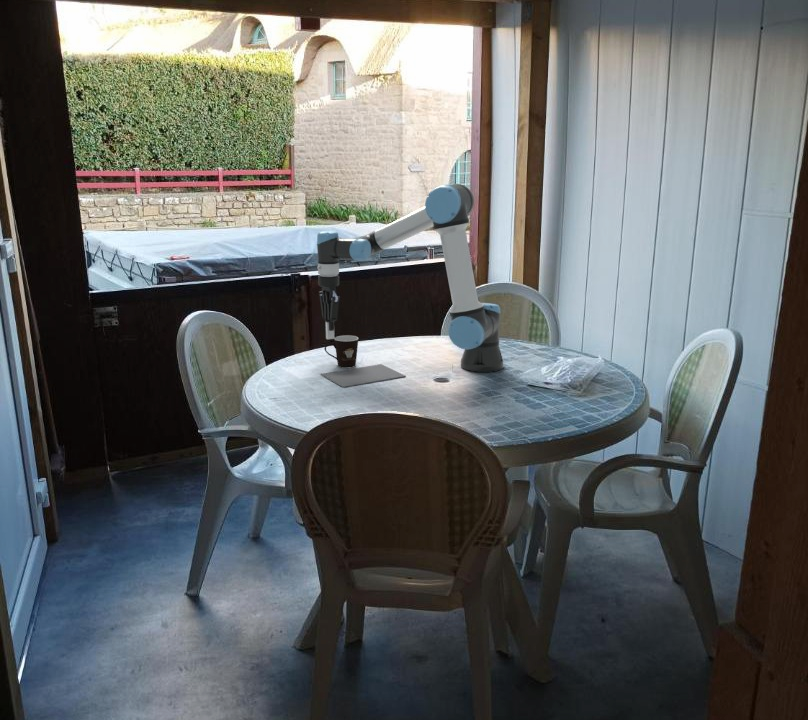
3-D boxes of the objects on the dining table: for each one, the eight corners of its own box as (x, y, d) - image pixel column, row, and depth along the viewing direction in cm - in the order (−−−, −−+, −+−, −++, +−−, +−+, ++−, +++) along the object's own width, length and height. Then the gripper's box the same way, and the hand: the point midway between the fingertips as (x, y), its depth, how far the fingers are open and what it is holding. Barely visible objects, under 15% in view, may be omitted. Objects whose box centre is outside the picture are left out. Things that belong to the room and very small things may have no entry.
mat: (405, 376, 259) (405, 375, 258) (342, 387, 247) (342, 386, 246) (381, 365, 273) (381, 364, 272) (320, 374, 261) (320, 373, 260)
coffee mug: (360, 362, 276) (360, 335, 273) (356, 369, 268) (356, 341, 265) (329, 361, 277) (328, 334, 274) (324, 368, 269) (323, 340, 266)
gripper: (311, 273, 276) (313, 336, 282) (326, 278, 265) (328, 343, 271) (330, 271, 279) (331, 333, 286) (346, 276, 269) (347, 341, 275)
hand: (330, 338), depth 279 cm, fingers closed
